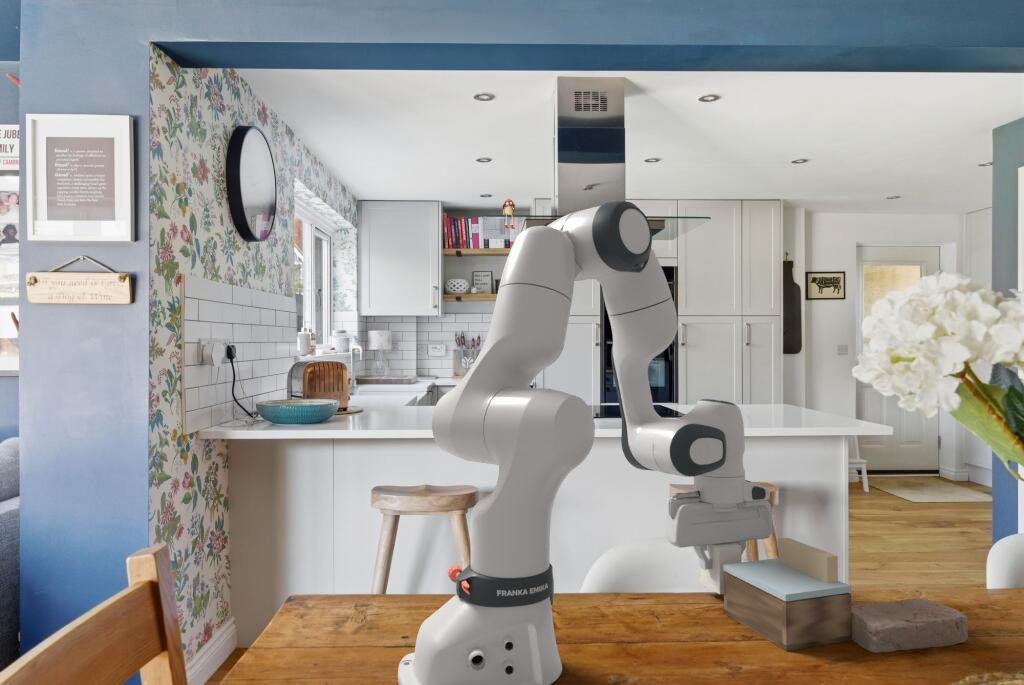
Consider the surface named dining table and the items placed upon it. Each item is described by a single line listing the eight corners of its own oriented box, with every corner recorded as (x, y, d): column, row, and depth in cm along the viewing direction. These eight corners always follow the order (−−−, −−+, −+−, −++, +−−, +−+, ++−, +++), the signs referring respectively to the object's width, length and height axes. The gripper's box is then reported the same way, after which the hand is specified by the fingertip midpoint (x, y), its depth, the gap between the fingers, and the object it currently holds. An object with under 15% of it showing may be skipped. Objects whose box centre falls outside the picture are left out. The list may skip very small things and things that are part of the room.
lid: (785, 601, 97) (785, 567, 97) (723, 570, 112) (723, 540, 112) (850, 592, 101) (850, 559, 101) (782, 563, 115) (782, 534, 115)
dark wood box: (786, 651, 97) (785, 602, 97) (724, 613, 111) (723, 571, 112) (851, 640, 101) (850, 593, 101) (783, 605, 115) (782, 564, 115)
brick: (874, 656, 96) (874, 623, 96) (835, 632, 104) (835, 602, 104) (971, 647, 99) (971, 615, 99) (926, 624, 107) (926, 595, 108)
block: (719, 594, 115) (719, 548, 116) (700, 583, 121) (699, 539, 121) (741, 591, 117) (741, 545, 117) (721, 580, 122) (720, 536, 123)
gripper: (678, 497, 113) (679, 578, 113) (777, 489, 119) (778, 566, 119) (659, 490, 119) (660, 567, 119) (754, 482, 125) (755, 556, 125)
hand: (720, 567), depth 119 cm, fingers closed on block, 4 cm apart
